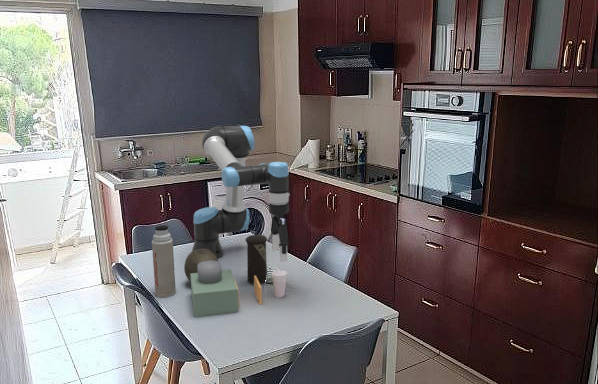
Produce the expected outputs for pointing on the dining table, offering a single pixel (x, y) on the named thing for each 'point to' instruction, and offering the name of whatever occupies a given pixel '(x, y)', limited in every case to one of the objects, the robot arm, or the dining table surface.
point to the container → (256, 258)
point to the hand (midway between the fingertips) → (279, 255)
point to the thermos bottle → (163, 262)
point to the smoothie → (279, 282)
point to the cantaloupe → (197, 260)
